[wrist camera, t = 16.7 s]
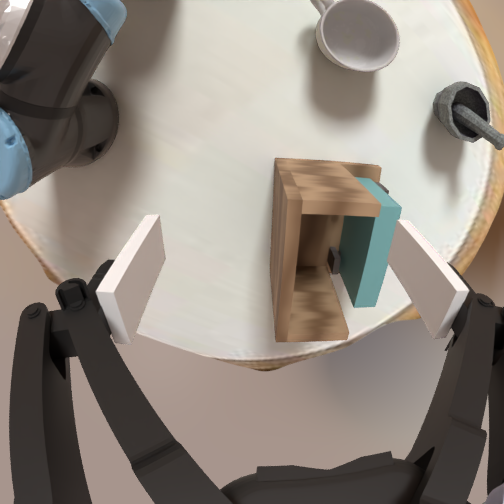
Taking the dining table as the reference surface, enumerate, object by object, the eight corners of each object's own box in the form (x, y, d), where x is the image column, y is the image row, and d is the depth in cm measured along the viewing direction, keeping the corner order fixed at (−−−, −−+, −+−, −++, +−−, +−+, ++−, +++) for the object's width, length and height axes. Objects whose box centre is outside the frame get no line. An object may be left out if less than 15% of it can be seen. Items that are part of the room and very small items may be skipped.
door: (335, 263, 53) (353, 307, 42) (349, 176, 44) (377, 205, 34) (361, 263, 53) (383, 306, 42) (377, 179, 44) (410, 208, 34)
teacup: (389, 57, 35) (414, 54, 28) (335, 85, 39) (351, 85, 32) (340, -15, 30) (356, -31, 23) (282, 11, 33) (288, -4, 26)
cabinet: (269, 267, 55) (275, 342, 39) (274, 158, 45) (287, 199, 29) (358, 268, 55) (390, 336, 39) (378, 165, 45) (433, 208, 29)
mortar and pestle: (415, 103, 39) (457, 112, 29) (444, 69, 35) (488, 72, 25) (451, 149, 42) (492, 170, 32) (477, 117, 39) (520, 131, 28)
